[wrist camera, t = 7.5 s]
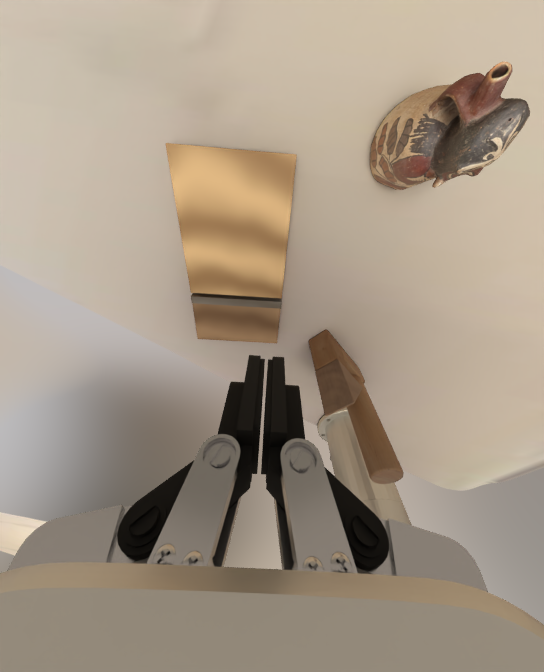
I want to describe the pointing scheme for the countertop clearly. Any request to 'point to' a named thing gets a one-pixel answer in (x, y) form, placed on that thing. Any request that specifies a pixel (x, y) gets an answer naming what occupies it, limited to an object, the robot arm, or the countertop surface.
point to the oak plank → (233, 217)
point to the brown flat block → (236, 317)
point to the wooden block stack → (353, 406)
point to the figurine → (447, 131)
